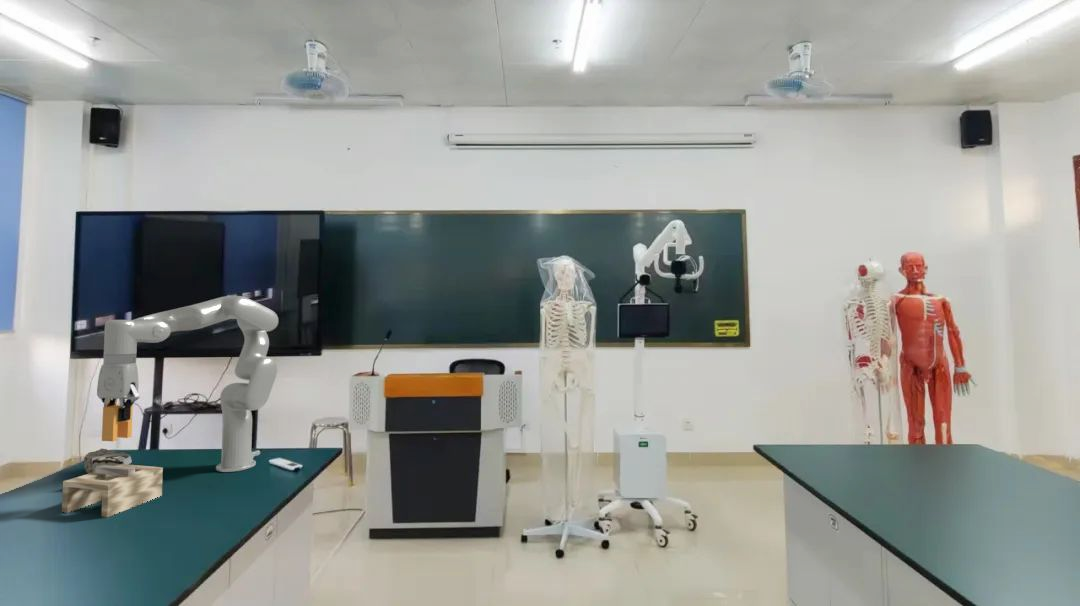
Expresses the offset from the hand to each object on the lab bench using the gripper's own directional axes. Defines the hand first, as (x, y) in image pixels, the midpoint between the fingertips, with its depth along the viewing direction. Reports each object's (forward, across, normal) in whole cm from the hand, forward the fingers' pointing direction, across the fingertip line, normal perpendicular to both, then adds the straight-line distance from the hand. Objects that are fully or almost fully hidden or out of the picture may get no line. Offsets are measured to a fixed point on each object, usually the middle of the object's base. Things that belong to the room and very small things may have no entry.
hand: (117, 419), depth 143 cm
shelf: (+25, 0, 0) cm, 25 cm away
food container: (+26, -15, +12) cm, 32 cm away
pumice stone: (+26, -33, +22) cm, 47 cm away
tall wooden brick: (+6, 0, 0) cm, 6 cm away
